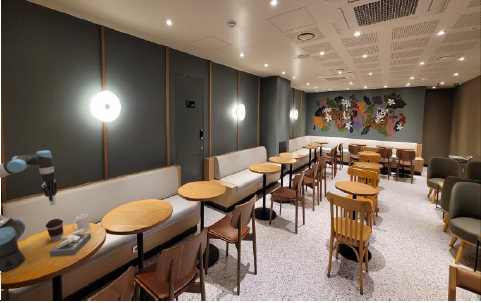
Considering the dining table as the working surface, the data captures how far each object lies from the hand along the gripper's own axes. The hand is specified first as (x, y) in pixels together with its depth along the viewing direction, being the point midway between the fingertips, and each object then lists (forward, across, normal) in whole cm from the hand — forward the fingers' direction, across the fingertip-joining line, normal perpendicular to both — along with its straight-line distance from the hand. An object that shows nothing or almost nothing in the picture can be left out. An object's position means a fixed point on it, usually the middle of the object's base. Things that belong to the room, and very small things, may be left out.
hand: (53, 204), depth 155 cm
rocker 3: (+24, 0, -12) cm, 27 cm away
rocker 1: (+23, -12, -12) cm, 29 cm away
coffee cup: (+31, +6, +6) cm, 32 cm away
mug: (+31, +16, -6) cm, 35 cm away
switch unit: (+30, -6, -12) cm, 33 cm away
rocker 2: (+24, -6, -12) cm, 28 cm away
